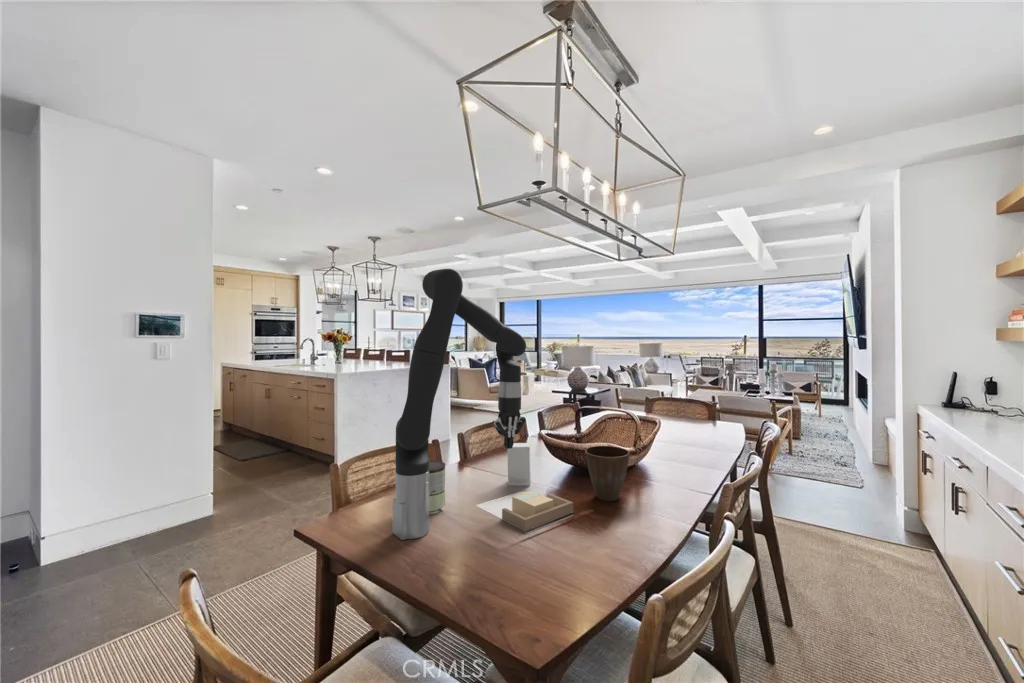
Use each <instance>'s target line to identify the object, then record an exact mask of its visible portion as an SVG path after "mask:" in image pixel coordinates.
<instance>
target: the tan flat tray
mask: <svg viewBox="0 0 1024 683" xmlns="http://www.w3.org/2000/svg"><path fill="white" fill-rule="evenodd" d="M523 493H526V492H525V491H518V492H514V493H511V494H507V495H504V496H502V497H498V498H495V499H492V500H489V501H485V502H482V503H478V504H475V506H476V507H477V508H479V509H480V510H483V511H486V512H488V513H489V514H491V515H493V516H495V517H497V518H499V519H501V520H503V521H505V522H506V523H508V524H510V525H512V526H514V527H516V528H519V529H520V530H522V531H524V532H525V533H523V535H524V536H527V535H530V534H532V533H535V532H537V531H539V530H542V529H544V528H547V527H549V526H551V525H552V526H553V525H554V524H557V523H559V522H562V521H564V520H566V519H569V518H572V517H574V502H573V501H570V500H568V499H566V498H562V497H560V496H558V495H555V494H552V493H547V494H546V497H548V498H551V499H553V508H551V509H548V510H545V511H542V512H540V513H537V514H534V515H531V516H529V517H526V518H525V517H523V516H521V515H519V514H517V513H515V512H513V511H512V497H513V496H516V495H519V494H523ZM570 514H571V515H570ZM562 517H563V518H562ZM559 518H561V519H559ZM557 519H558V520H557ZM555 520H556V521H555ZM552 521H553V522H552ZM549 522H550V523H549ZM542 525H543V526H542ZM539 526H540V527H539ZM537 527H538V528H537ZM534 528H535V529H534ZM532 529H533V530H532ZM529 530H530V531H529ZM526 531H527V532H526Z"/></svg>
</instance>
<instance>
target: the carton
mask: <svg viewBox="0 0 1024 683" xmlns="http://www.w3.org/2000/svg"><path fill="white" fill-rule="evenodd" d="M551 508H553V499H551V498H548V497H547V496H545V495H543V494H540V493H537V492H535V491H532V490H529V491H526V492H525V493H523V494H519V495H516V496H513V497H512V511H513V512H515V513H517V514H519V515H521V516H523V517H525V518H526V517H529V516H531V515H534V514H537V513H540V512H542V511H545V510H548V509H551Z"/></svg>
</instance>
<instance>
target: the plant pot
mask: <svg viewBox="0 0 1024 683" xmlns="http://www.w3.org/2000/svg"><path fill="white" fill-rule="evenodd" d="M584 453H585V458H586V465H587V469H588V473H589V478H590V481H591V485H592V487H593V491H594V493H595V496H596V498H597V499H599V500H602V501H606V502H612V501H614V502H615V501H617V500H619V498H620V495H621V492H622V489H623V486H624V483H625V480H626V476H627V472H628V471H627V470H628V467H629V459H630V451H629V450H627V449H626V448H622V447H618V446H613V445H612V446H611V445H596V446H590V447H587V448H586V449H585V451H584Z"/></svg>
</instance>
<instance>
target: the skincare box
mask: <svg viewBox="0 0 1024 683" xmlns="http://www.w3.org/2000/svg"><path fill="white" fill-rule="evenodd" d="M530 448H531V445H530V442H513V447H512V448H510V449H507V448H506V449H507V450H506V452H507V485H508V486H509V487H510V486H511V487H513V486H514V487H530V486H531V482H532V481H531V449H530Z"/></svg>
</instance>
